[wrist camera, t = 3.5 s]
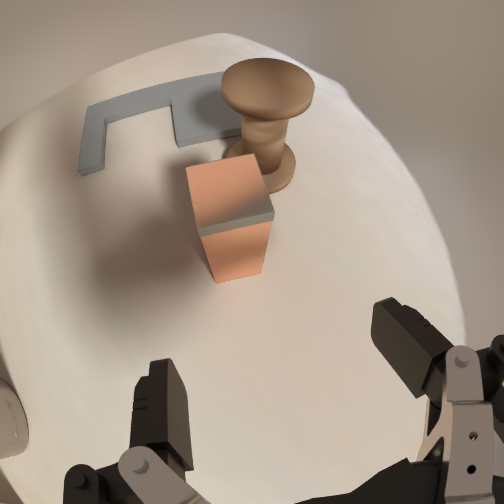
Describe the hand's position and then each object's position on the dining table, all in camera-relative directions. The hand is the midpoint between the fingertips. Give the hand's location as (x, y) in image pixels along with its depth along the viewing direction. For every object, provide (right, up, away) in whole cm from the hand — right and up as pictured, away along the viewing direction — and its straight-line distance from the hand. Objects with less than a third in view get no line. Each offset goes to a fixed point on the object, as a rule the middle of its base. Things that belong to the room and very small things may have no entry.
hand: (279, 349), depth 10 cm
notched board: (-13, +20, +21) cm, 32 cm away
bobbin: (0, +12, +19) cm, 23 cm away
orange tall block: (-3, +3, +15) cm, 16 cm away
